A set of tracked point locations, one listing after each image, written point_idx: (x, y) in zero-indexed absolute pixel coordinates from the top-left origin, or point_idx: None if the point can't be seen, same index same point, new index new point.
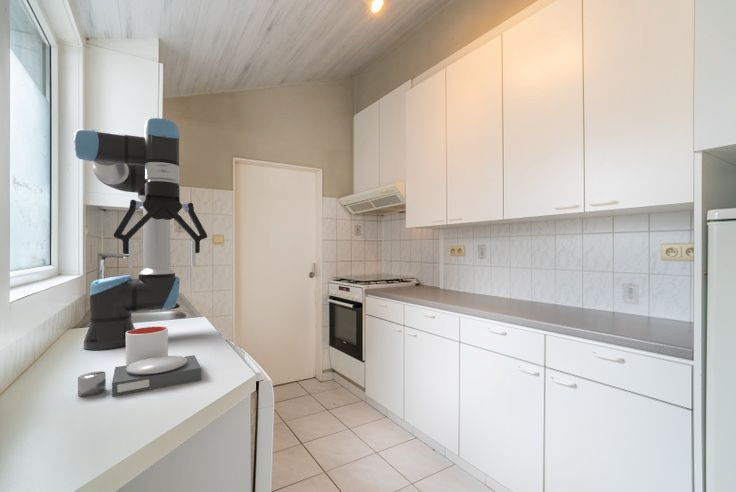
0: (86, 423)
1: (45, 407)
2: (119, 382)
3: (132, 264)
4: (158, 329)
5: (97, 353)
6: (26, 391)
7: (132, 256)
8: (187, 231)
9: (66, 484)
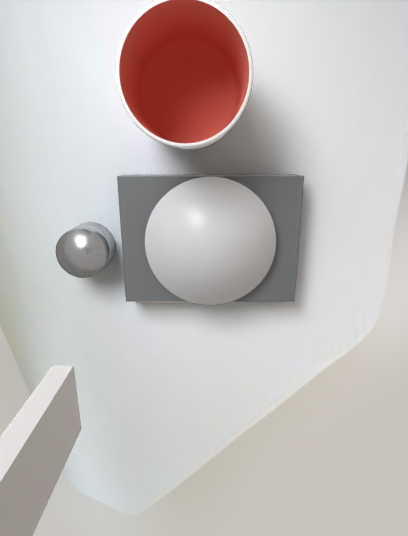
0: (111, 384)
1: (32, 282)
2: (139, 300)
3: (72, 445)
4: (223, 19)
5: None
6: None
7: (50, 493)
8: None
9: (121, 510)
